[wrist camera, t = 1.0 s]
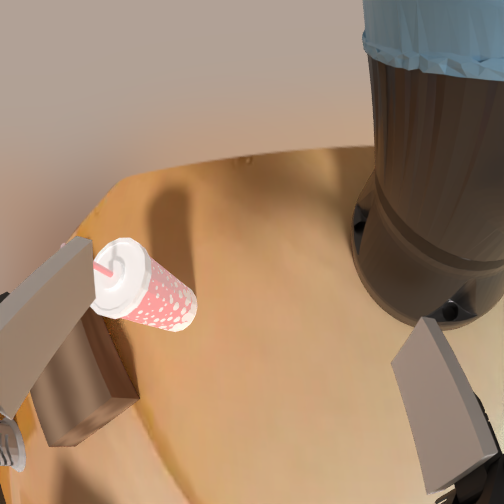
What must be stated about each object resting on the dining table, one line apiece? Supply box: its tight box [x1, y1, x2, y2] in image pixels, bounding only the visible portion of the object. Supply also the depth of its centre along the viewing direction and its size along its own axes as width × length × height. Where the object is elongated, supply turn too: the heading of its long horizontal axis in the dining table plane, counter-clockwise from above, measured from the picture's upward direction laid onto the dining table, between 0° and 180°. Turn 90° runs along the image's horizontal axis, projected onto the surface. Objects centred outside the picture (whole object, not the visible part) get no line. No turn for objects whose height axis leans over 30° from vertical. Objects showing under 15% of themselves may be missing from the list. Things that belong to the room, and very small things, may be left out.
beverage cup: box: [60, 238, 197, 332], centre depth 22 cm, size 6×6×14 cm
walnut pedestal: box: [30, 307, 140, 447], centre depth 28 cm, size 13×18×4 cm
